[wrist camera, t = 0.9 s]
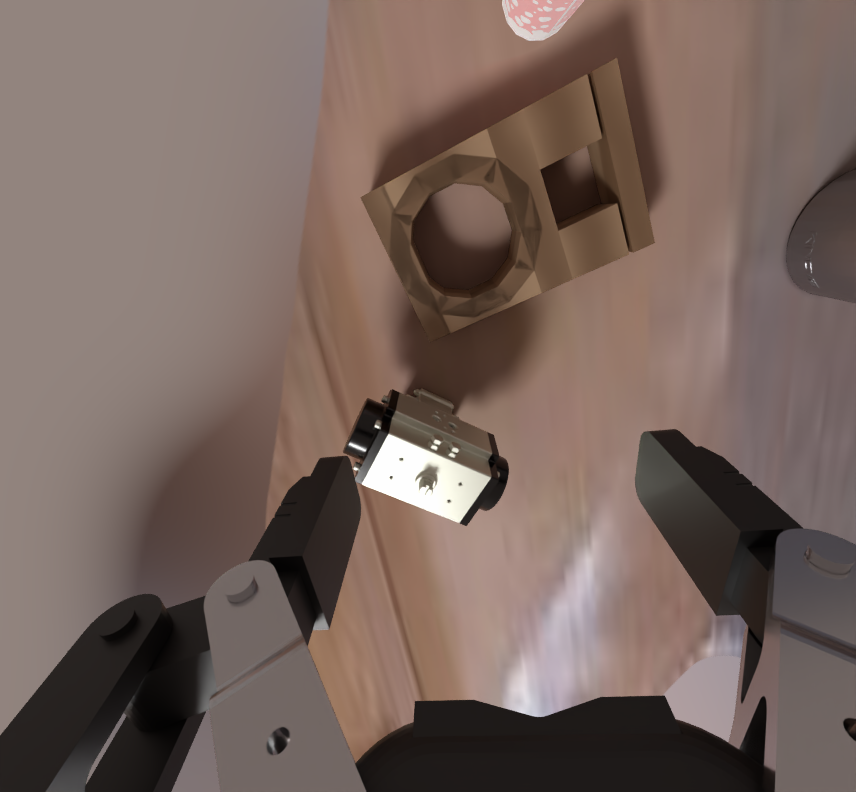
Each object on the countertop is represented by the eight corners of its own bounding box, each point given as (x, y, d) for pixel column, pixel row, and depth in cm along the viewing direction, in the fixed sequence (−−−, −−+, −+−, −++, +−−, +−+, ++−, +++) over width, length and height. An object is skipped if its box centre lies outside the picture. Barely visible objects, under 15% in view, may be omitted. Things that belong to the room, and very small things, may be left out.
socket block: (594, 76, 25) (617, 57, 22) (631, 239, 30) (654, 242, 26) (368, 199, 29) (360, 197, 26) (430, 330, 33) (430, 342, 30)
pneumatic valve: (471, 451, 38) (485, 545, 27) (361, 403, 36) (329, 484, 25) (499, 406, 36) (527, 489, 25) (385, 352, 34) (361, 418, 23)
